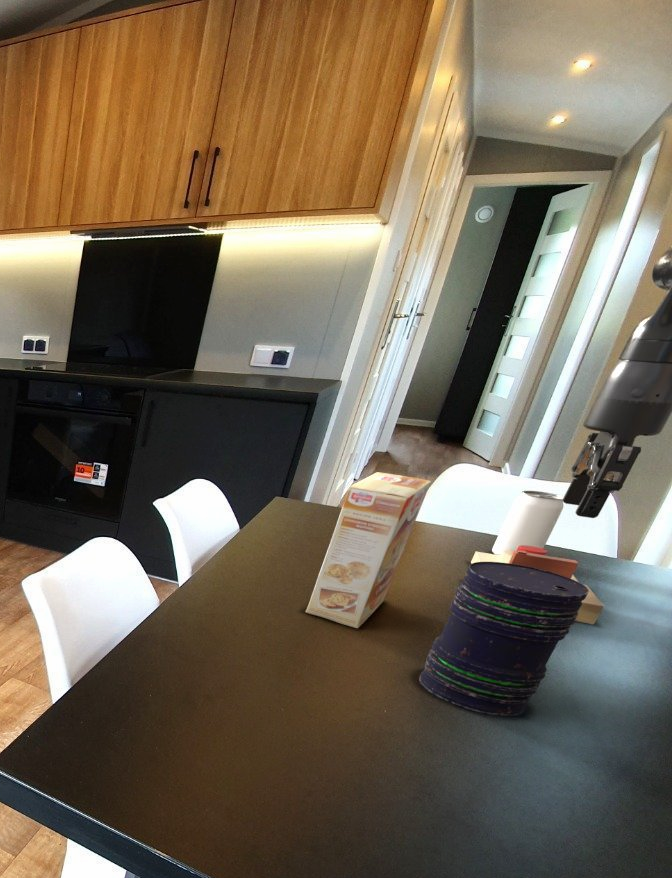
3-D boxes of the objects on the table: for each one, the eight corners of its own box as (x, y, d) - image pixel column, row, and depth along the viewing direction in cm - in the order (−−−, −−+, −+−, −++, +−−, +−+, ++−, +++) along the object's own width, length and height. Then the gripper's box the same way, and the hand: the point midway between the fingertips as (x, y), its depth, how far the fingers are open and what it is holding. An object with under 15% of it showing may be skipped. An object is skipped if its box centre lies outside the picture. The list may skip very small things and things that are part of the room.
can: (488, 548, 124) (515, 488, 118) (533, 555, 120) (563, 493, 115) (493, 557, 119) (522, 495, 114) (540, 565, 115) (572, 501, 110)
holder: (562, 587, 98) (577, 559, 96) (564, 590, 97) (579, 561, 95) (502, 576, 102) (515, 549, 100) (503, 579, 101) (516, 551, 99)
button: (540, 557, 109) (545, 548, 108) (544, 563, 106) (549, 554, 105) (512, 553, 110) (516, 543, 110) (515, 559, 108) (520, 549, 107)
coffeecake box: (358, 629, 90) (410, 496, 82) (302, 612, 95) (346, 485, 87) (385, 601, 99) (434, 479, 91) (333, 587, 104) (375, 470, 96)
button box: (561, 578, 110) (572, 556, 108) (572, 595, 103) (584, 572, 101) (470, 562, 116) (479, 542, 114) (476, 577, 110) (486, 555, 108)
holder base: (577, 600, 101) (586, 582, 100) (594, 626, 93) (605, 606, 91) (463, 579, 108) (470, 562, 107) (470, 601, 100) (478, 583, 99)
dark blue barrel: (399, 679, 78) (448, 567, 72) (446, 664, 82) (496, 556, 75) (497, 724, 70) (562, 602, 63) (544, 705, 73) (610, 588, 67)
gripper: (697, 404, 80) (628, 527, 87) (659, 394, 90) (601, 504, 97) (612, 398, 84) (553, 516, 91) (586, 389, 94) (535, 495, 101)
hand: (578, 510), depth 94 cm, fingers open, 8 cm apart
